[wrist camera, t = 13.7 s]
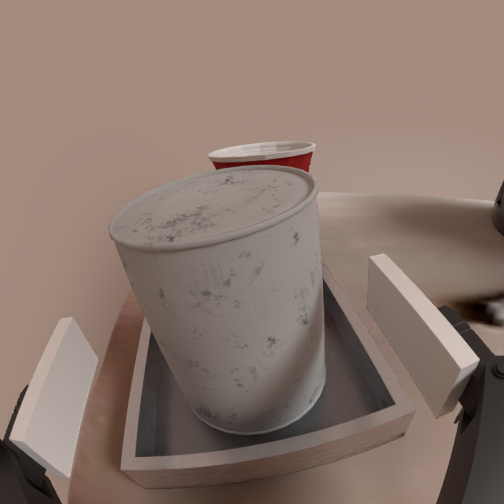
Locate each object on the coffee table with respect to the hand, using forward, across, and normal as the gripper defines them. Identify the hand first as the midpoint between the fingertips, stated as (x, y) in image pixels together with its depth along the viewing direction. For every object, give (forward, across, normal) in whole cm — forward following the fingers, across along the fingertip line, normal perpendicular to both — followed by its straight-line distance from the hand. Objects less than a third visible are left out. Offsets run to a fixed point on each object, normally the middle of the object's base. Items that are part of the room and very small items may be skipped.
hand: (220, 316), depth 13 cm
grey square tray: (+4, 0, -9) cm, 10 cm away
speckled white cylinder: (+4, 0, -8) cm, 9 cm away
